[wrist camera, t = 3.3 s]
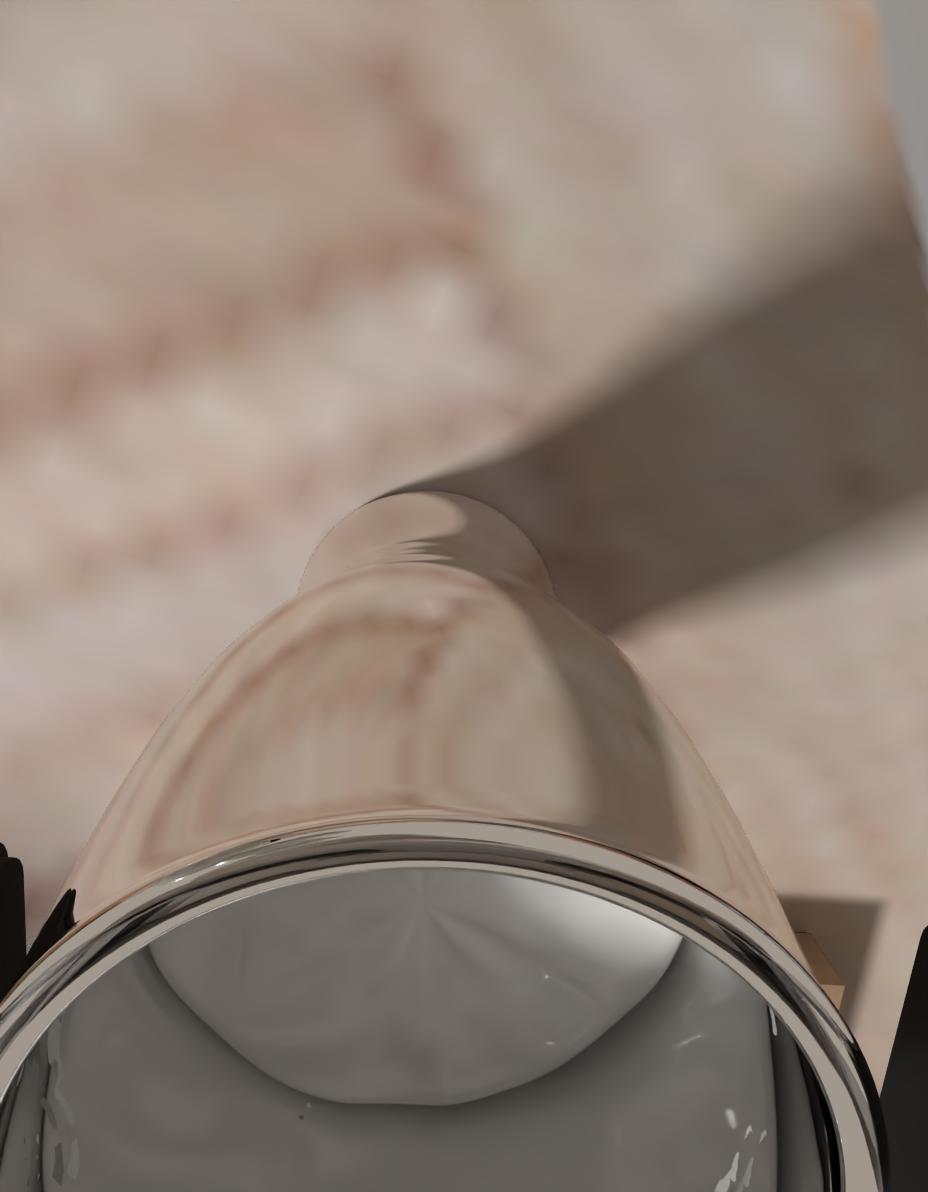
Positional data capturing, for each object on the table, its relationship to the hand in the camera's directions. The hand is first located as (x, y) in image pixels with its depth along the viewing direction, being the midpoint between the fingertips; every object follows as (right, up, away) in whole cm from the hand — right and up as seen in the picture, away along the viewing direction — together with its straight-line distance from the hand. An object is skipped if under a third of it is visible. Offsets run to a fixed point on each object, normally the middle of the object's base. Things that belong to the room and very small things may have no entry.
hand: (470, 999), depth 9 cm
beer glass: (-1, +4, +12) cm, 12 cm away
